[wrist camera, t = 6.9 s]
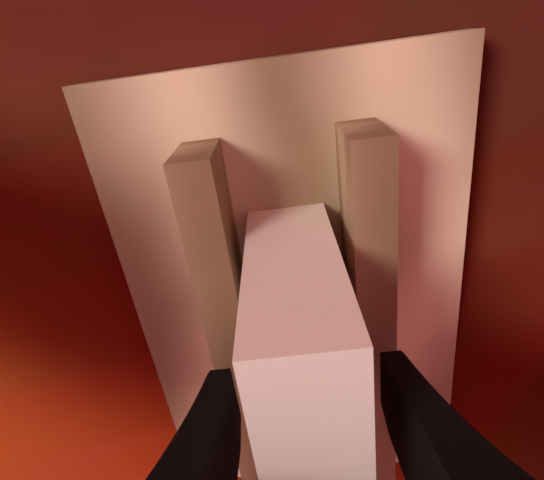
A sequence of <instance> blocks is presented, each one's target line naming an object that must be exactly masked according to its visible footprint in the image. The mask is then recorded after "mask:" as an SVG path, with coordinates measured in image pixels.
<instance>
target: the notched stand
mask: <svg viewBox="0 0 544 480" xmlns="http://www.w3.org/2000/svg"><path fill="white" fill-rule="evenodd" d="M484 35H485V28H473V29H463V30H456V31H449V32H442V33H435V34H428V35H420V36H413V37H406V38H399V39H392V40H385V41H378V42H370V43H363V44H356V45H349V46H342V47H335V48H328V49H320V50H313V51H306V52H299V53H292V54H285V55H278V56H270V57H263V58H256V59H249V60H242V61H235V62H228V63H220V64H213V65H206V66H199V67H192V68H185V69H178V70H170V71H163V72H156V73H149V74H142V75H135V76H128V77H120V78H113V79H106V80H99V81H92V82H85V83H77V84H73V85H68V86H64V87H62V90H63V93H64V96H65V99H66V102H67V105H68V108H69V111H70V114H71V117H72V120H73V123H74V126H75V129H76V132H77V135H78V138H79V141H80V144H81V147H82V150H83V153H84V156H85V159H86V162H87V164H88V167H89V170H90V173H91V176H92V179H93V182H94V185H95V188H96V191H97V194H98V197H99V200H100V203H101V206H102V209H103V212H104V215H105V218H106V221H107V224H108V227H109V230H110V233H111V236H112V239H113V242H114V245H115V248H116V251H117V254H118V257H119V260H120V263H121V266H122V269H123V272H124V275H125V278H126V281H127V284H128V287H129V290H130V293H131V296H132V299H133V302H134V305H135V308H136V311H137V314H138V317H139V320H140V323H141V326H142V329H143V332H144V335H145V338H146V341H147V344H148V347H149V350H150V353H151V356H152V359H153V362H154V365H155V368H156V371H157V374H158V377H159V380H160V383H161V386H162V389H163V392H164V395H165V398H166V401H167V404H168V407H169V410H170V413H171V416H172V419H173V422H174V425H175V427H176V430H177V431H178V429H179V427H180V426H181V424H182V422H183V420H184V419H185V417H186V415H187V413H188V412H189V410H190V408H191V406H192V404H193V402H194V400H195V399H196V397H197V395H198V393H199V391H200V389H201V387H202V385H203V382H204V380H205V378H206V376H207V374H208V373H209V372H210V370H218V369H228V368H230V369H231V373H232V378H233V382H234V387H235V391H236V395H237V400H238V404H239V409H240V413H241V452H240V461H239V470H238V477H241V479H242V480H258V476H257V472H256V467H255V463H254V458H253V454H252V449H251V445H250V440H249V436H248V431H247V427H246V423H245V418H244V414H243V409H242V405H241V400H240V396H239V391H238V387H237V382H236V378H235V373H234V369H233V364H232V358H233V349H234V339H235V330H236V320H237V311H238V302H239V292H240V283H241V273H242V264H243V255H244V245H245V236H246V226H247V217H248V212H254V211H262V210H271V209H279V208H287V207H295V206H303V205H311V204H319V203H323V204H324V207H325V209H326V212H327V215H328V218H329V221H330V224H331V227H332V230H333V233H334V235H335V238H336V241H337V244H338V247H339V250H340V253H341V256H342V259H343V261H344V264H345V267H346V270H347V273H348V276H349V279H350V282H351V285H352V287H353V290H354V293H355V296H356V299H357V302H358V305H359V308H360V311H361V313H362V316H363V319H364V322H365V325H366V328H367V331H368V334H369V337H370V339H371V342H372V345H373V360H374V405H375V450H376V480H396V462H399V461H398V458H397V455H396V453H395V450H394V447H393V445H392V442H391V439H390V436H389V433H388V429H387V425H386V421H385V417H384V413H383V409H382V405H381V391H380V352H388V351H398V350H401V351H402V352H404V353H405V355H406V356H407V357H408V358H409V360H410V361H411V362H412V363H413V364H414V366H415V367H416V368H417V369H418V370H419V372H420V373H421V374H422V375H423V376H424V377H425V378H426V380H427V381H428V382H429V383H430V384H431V385H432V386H433V387H434V389H435V390H436V391H437V392H438V393H439V394H440V395H441V396H442V397H443V398H444V399H445V400H446V401H447V402H448V403H449V404H451V393H452V382H453V371H454V360H455V349H456V338H457V328H458V317H459V306H460V295H461V284H462V273H463V263H464V252H465V241H466V230H467V219H468V208H469V198H470V187H471V176H472V165H473V154H474V143H475V132H476V122H477V111H478V100H479V89H480V78H481V67H482V57H483V46H484Z"/></svg>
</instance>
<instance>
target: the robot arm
mask: <svg viewBox="0 0 544 480" xmlns="http://www.w3.org/2000/svg"><path fill="white" fill-rule="evenodd" d="M380 391H381V405H382V409H383V413H384V417H385V421H386V425H387V429H388V433H389V436H390V439H391V442H392V445H393V447H394V450H395V453H396V455H397V458H398V461H399V463H400V466H401V469H402V471H403V474H404V477H405V480H536V479H534V478H533V477H532V476H530V475H529V474H528V473H527V472H525V471H524V470H523V469H521V468H520V467H519V466H518V465H516V464H515V463H514V462H512V461H511V460H510V459H509V458H508V457H506V456H505V455H504V454H503V453H502V452H500V451H499V450H498V449H497V448H496V447H494V446H493V445H492V444H491V443H490V442H489V441H488V440H486V439H485V438H484V437H483V436H482V435H481V434H480V433H479V432H477V431H476V430H475V429H474V428H473V427H472V426H471V425H470V424H469V423H468V422H467V421H466V420H465V419H464V418H463V417H462V416H461V415H460V414H459V413H458V412H457V411H456V410H455V409H454V408H453V407H452V406H451V405H450V404H449V403H448V402H447V401H446V400H445V399H444V398H443V397H442V396H441V395H440V394H439V393H438V392H437V391H436V390H435V389H434V387H433V386H432V385H431V384H430V383H429V382H428V381H427V380H426V378H425V377H424V376H423V375H422V374H421V373H420V372H419V370H418V369H417V368H416V367H415V366H414V364H413V363H412V362H411V361H410V360H409V358H408V357H407V356H406V355H405V353H404V352H402V351H401V350H398V351H388V352H380ZM240 452H241V413H240V409H239V404H238V400H237V395H236V391H235V387H234V382H233V378H232V373H231V369H230V368H228V369H218V370H210V372H209V373H208V374H207V376H206V378H205V380H204V382H203V385H202V387H201V389H200V391H199V393H198V395H197V397H196V399H195V400H194V402H193V404H192V406H191V408H190V410H189V412H188V413H187V415H186V417H185V419H184V420H183V422H182V424H181V426H180V427H179V429H178V431H177V433H176V434H175V436H174V437H173V439H172V441H171V442H170V444H169V445H168V447H167V448H166V450H165V452H164V453H163V455H162V456H161V458H160V459H159V461H158V462H157V464H156V465H155V467H154V468H153V470H152V471H151V472H150V474H149V475H148V477H147V478H146V479H145V480H237V478H238V470H239V461H240Z"/></svg>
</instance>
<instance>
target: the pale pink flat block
mask: <svg viewBox="0 0 544 480" xmlns="http://www.w3.org/2000/svg"><path fill="white" fill-rule="evenodd" d="M232 364H233V369H234V373H235V378H236V382H237V387H238V391H239V396H240V400H241V405H242V409H243V414H244V418H245V423H246V427H247V431H248V436H249V440H250V445H251V449H252V454H253V458H254V463H255V467H256V472H257V476H258V480H376V450H375V405H374V360H373V345H372V342H371V339H370V337H369V334H368V331H367V328H366V325H365V322H364V319H363V316H362V313H361V311H360V308H359V305H358V302H357V299H356V296H355V293H354V290H353V287H352V285H351V282H350V279H349V276H348V273H347V270H346V267H345V264H344V261H343V259H342V256H341V253H340V250H339V247H338V244H337V241H336V238H335V235H334V233H333V230H332V227H331V224H330V221H329V218H328V215H327V212H326V209H325V207H324V204H323V203H319V204H311V205H303V206H295V207H287V208H279V209H271V210H262V211H254V212H248V217H247V226H246V236H245V245H244V255H243V264H242V273H241V283H240V292H239V302H238V311H237V320H236V330H235V339H234V349H233V358H232Z"/></svg>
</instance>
